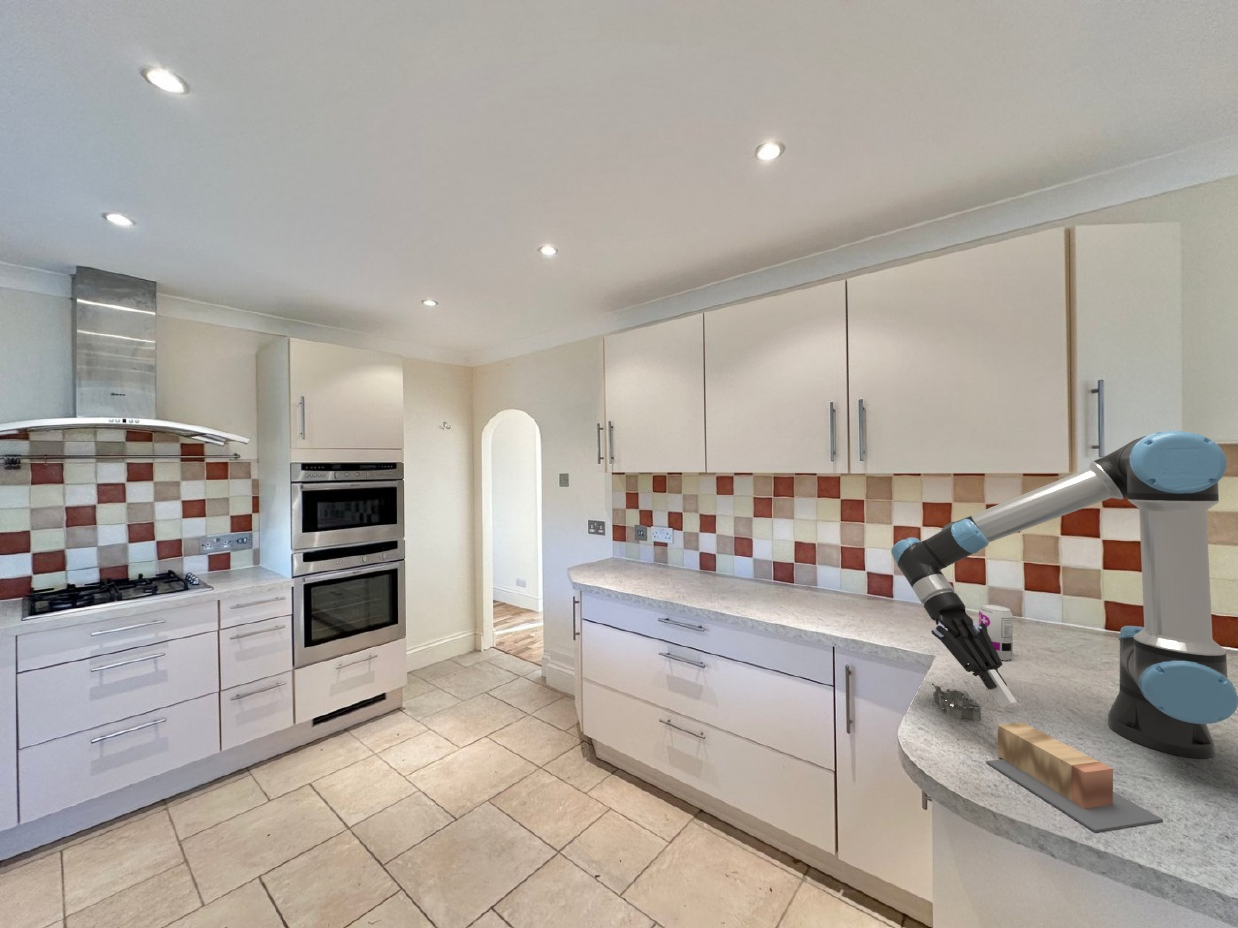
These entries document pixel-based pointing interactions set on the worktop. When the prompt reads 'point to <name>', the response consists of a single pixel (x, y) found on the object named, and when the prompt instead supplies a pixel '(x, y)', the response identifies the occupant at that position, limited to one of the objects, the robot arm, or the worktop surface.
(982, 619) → the supplement can
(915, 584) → the robot arm
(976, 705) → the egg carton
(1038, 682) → the worktop surface
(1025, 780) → the mat
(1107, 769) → the oak block
